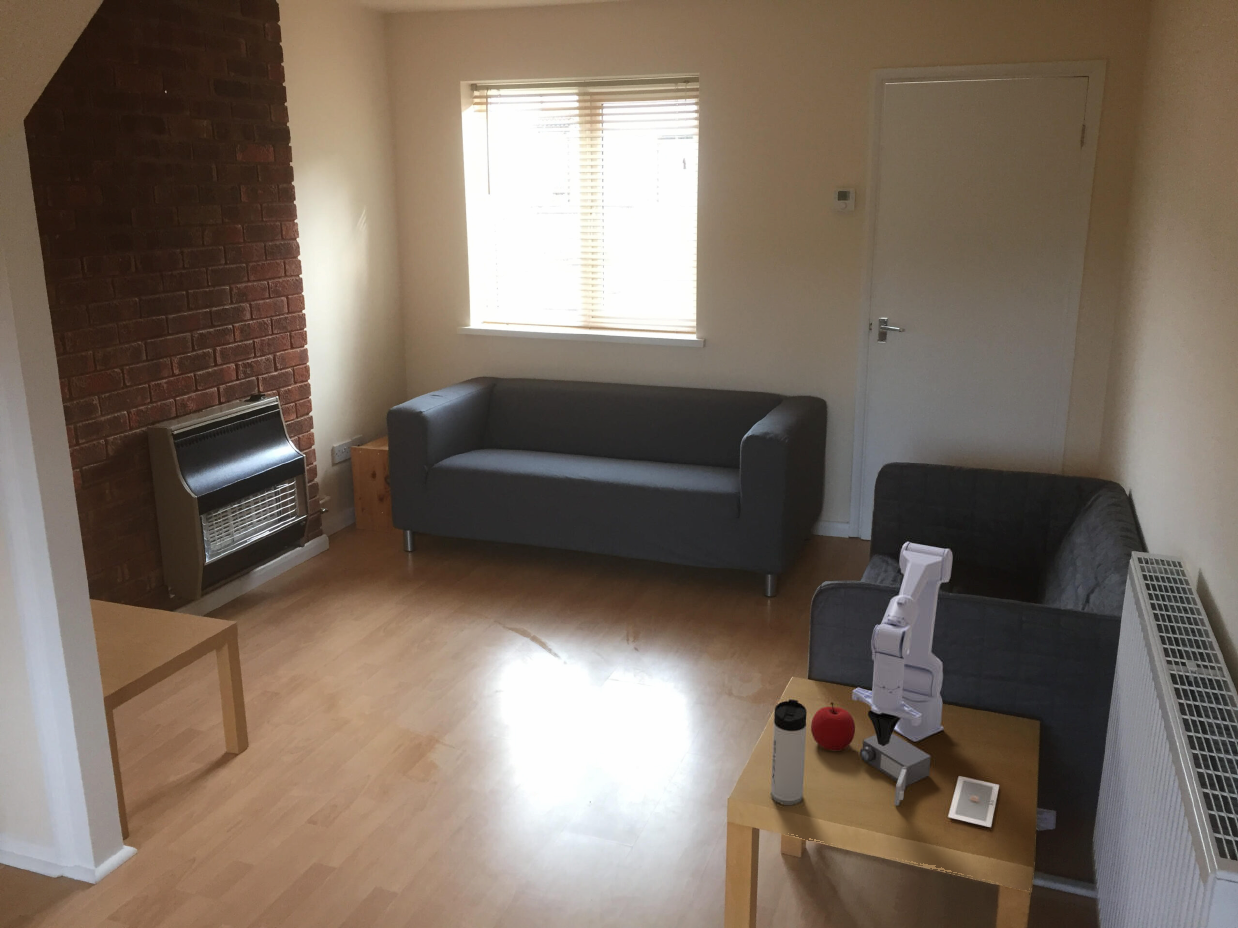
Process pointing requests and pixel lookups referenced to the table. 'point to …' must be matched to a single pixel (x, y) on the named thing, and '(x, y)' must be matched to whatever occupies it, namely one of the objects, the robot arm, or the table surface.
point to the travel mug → (788, 752)
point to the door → (901, 786)
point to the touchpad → (974, 801)
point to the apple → (833, 728)
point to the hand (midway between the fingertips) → (883, 742)
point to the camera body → (896, 758)
